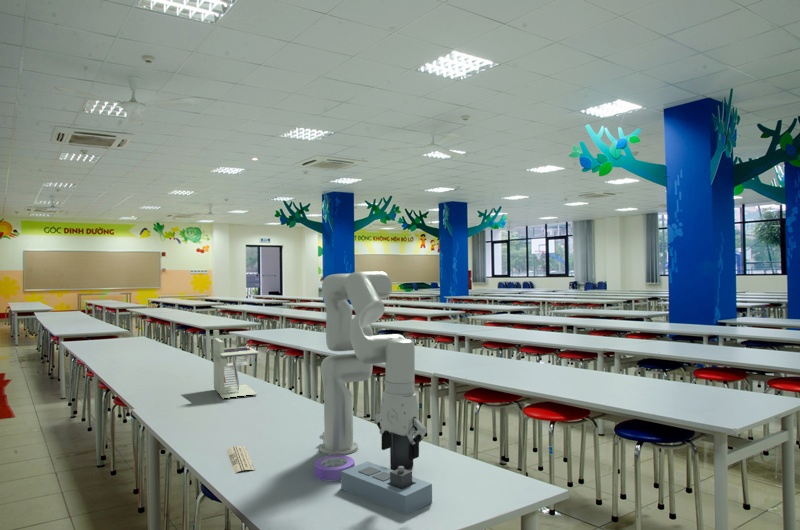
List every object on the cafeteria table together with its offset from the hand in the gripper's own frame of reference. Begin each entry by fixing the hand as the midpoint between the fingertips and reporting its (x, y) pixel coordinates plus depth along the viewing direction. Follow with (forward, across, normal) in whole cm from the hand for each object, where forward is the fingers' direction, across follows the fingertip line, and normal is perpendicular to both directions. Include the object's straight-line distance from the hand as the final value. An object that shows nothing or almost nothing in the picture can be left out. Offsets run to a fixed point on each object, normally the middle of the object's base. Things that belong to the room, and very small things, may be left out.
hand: (399, 453), depth 137 cm
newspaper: (+15, -58, -13) cm, 62 cm away
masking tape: (+14, -27, +1) cm, 30 cm away
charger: (+12, +1, 0) cm, 13 cm away
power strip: (+13, -5, 0) cm, 14 cm away
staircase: (+18, -149, +38) cm, 155 cm away
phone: (+13, -14, +16) cm, 25 cm away
